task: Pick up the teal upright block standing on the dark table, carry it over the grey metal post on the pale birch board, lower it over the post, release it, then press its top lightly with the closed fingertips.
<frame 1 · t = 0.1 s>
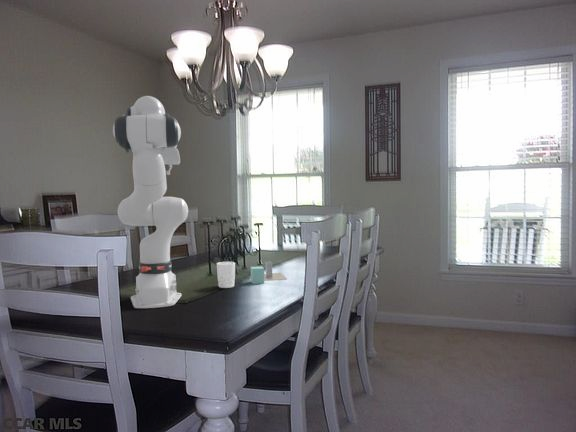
hand: (157, 175, 204), 48 cm above the table, fingers open, 8 cm apart
teal upright block: (257, 282, 203), on the table
white cup: (226, 286, 196), on the table
post: (269, 277, 214), on the table
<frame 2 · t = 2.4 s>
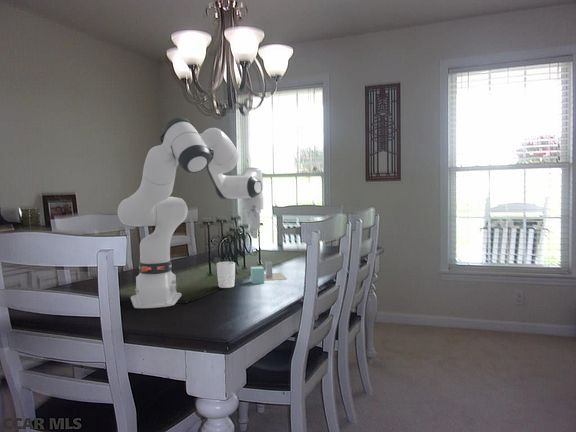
hand: (253, 236, 202), 20 cm above the table, fingers open, 8 cm apart
nothing on the table moved.
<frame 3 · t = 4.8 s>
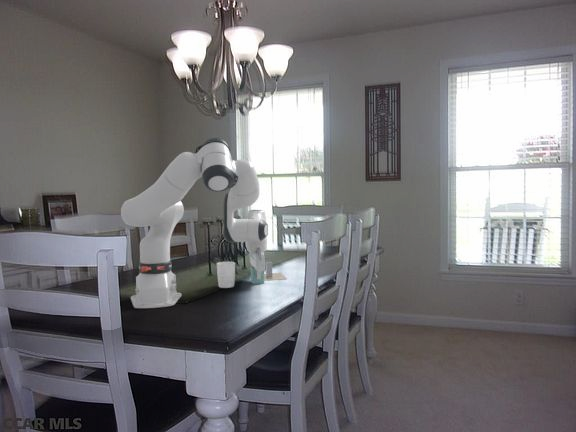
hand: (257, 277, 203), 2 cm above the table, fingers closed on teal upright block, 5 cm apart
teal upright block: (257, 282, 203), on the table, touching gripper
everything else where it was.
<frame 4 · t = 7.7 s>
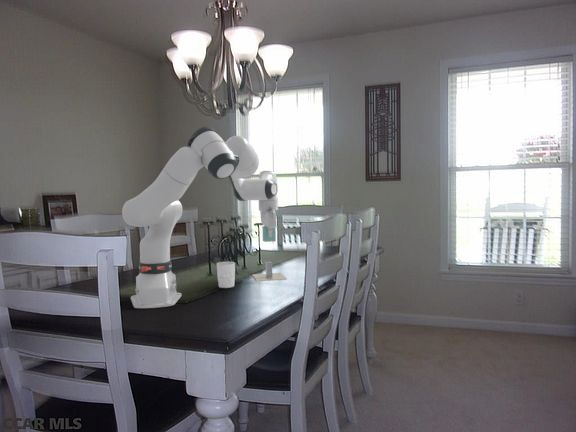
hand: (268, 236, 213), 19 cm above the table, fingers closed on teal upright block, 5 cm apart
teal upright block: (269, 240, 213), point 17 cm above the table, touching gripper
everything else where it was.
when the fingers open (5 cm above the table, at t = 10.5 s): teal upright block drops 1 cm, resting on post.
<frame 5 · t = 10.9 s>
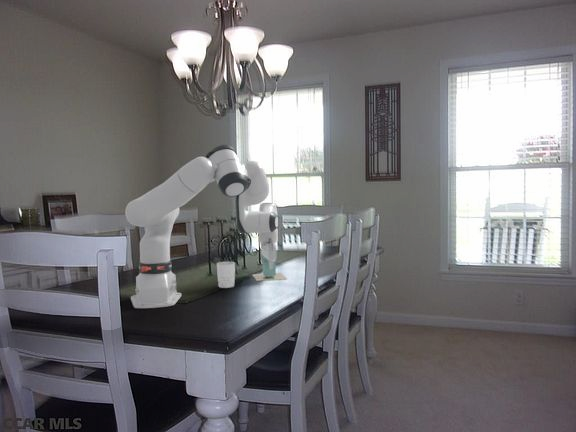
hand: (268, 267, 214), 5 cm above the table, fingers open, 8 cm apart
teal upright block: (269, 274, 214), point 1 cm above the table, touching post
everything else where it was.
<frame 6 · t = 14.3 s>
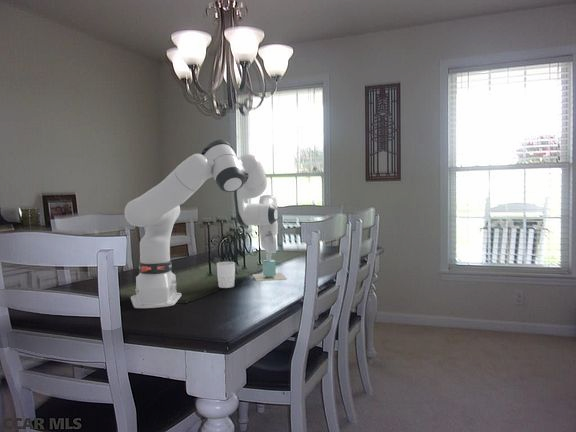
hand: (268, 260, 214), 8 cm above the table, fingers closed
nothing on the table moved.
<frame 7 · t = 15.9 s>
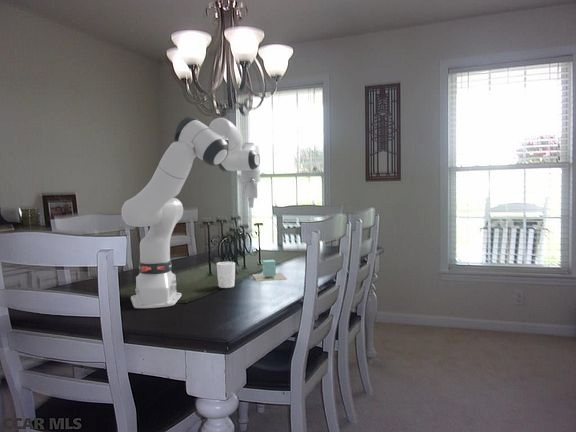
hand: (251, 207, 217), 32 cm above the table, fingers closed
nothing on the table moved.
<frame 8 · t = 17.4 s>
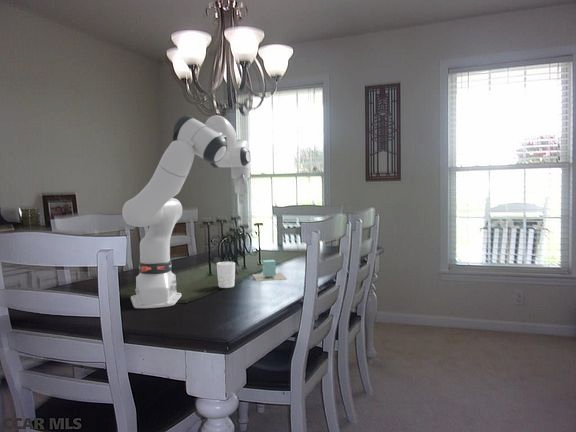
hand: (241, 203, 220), 34 cm above the table, fingers closed
nothing on the table moved.
at the end: teal upright block 0.1 cm from the post (horizontally); teal upright block point 1.0 cm above the table; teal upright block tilted 0° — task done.
